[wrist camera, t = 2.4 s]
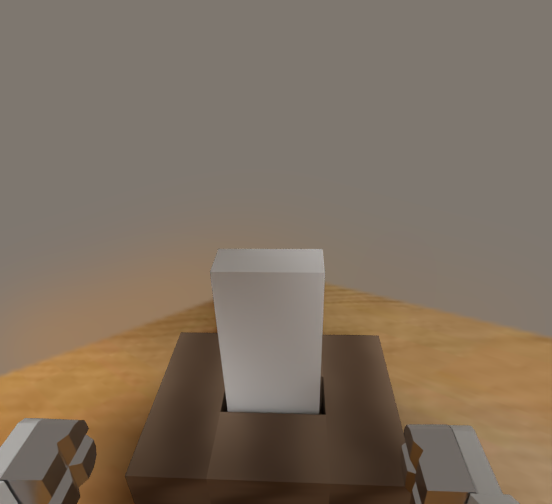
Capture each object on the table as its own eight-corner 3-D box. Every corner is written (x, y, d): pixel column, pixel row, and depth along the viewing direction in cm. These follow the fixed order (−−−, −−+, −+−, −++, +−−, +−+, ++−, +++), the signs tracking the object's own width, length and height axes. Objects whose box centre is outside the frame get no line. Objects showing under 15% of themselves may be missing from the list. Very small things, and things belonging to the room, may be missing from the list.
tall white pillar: (231, 441, 28) (210, 271, 21) (236, 411, 30) (218, 248, 23) (317, 444, 27) (324, 272, 21) (316, 413, 30) (322, 249, 23)
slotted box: (140, 519, 24) (124, 475, 22) (188, 372, 35) (181, 332, 33) (405, 531, 23) (416, 486, 21) (373, 376, 34) (378, 335, 32)
